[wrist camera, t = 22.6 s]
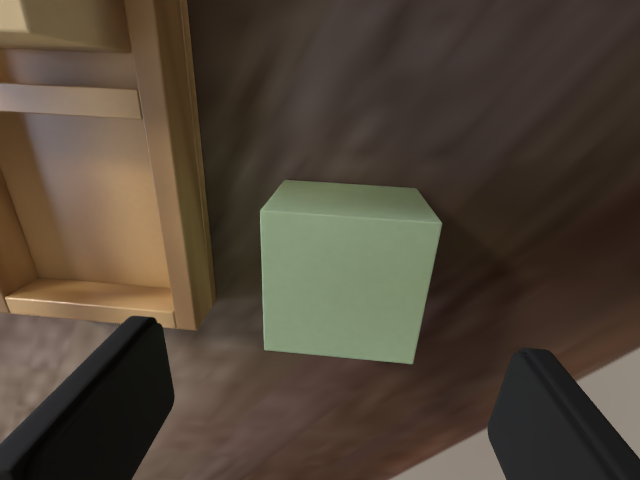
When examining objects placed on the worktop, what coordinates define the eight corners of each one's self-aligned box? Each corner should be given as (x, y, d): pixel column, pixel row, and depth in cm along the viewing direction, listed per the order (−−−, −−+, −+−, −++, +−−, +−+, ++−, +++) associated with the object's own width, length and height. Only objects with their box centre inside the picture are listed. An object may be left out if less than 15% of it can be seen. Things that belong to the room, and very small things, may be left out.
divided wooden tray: (163, -250, 10) (104, -359, 8) (216, 300, 18) (196, 331, 16) (-151, -246, 11) (-297, -346, 8) (37, 285, 19) (-9, 312, 16)
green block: (416, 187, 15) (442, 223, 10) (397, 300, 17) (413, 364, 13) (284, 179, 15) (259, 210, 11) (284, 290, 17) (264, 350, 13)
